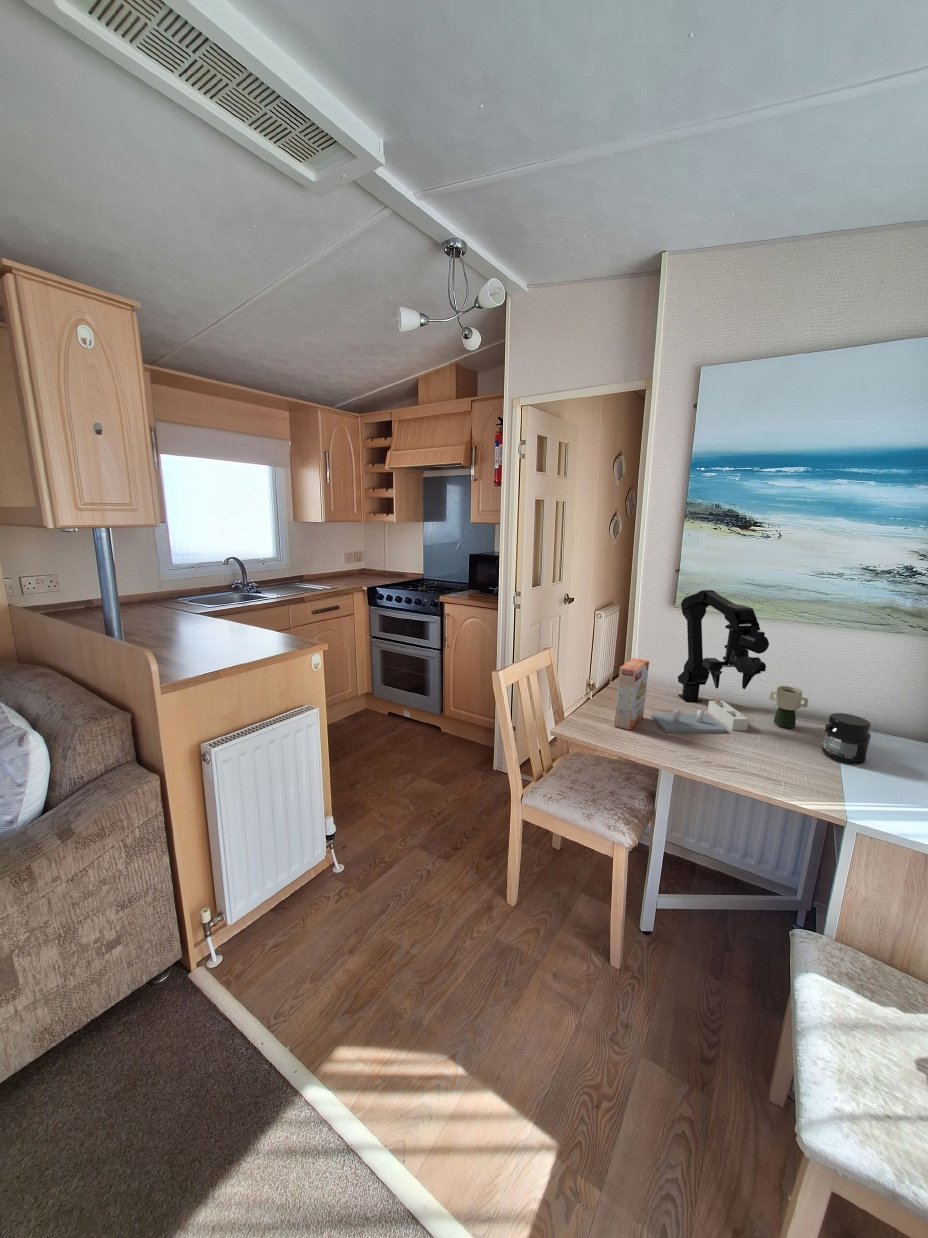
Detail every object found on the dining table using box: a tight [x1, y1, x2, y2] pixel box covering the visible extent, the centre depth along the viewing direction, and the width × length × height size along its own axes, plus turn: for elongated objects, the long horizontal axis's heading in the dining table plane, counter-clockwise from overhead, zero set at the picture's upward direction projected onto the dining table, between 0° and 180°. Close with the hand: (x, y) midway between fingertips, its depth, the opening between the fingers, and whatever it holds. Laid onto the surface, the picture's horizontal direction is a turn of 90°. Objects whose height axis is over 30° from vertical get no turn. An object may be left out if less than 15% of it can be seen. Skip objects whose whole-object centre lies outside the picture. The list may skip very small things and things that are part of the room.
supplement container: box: [821, 712, 872, 765], centre depth 143 cm, size 10×10×12 cm
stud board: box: [650, 709, 727, 734], centre depth 165 cm, size 12×20×5 cm, turn 91°
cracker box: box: [613, 658, 650, 731], centre depth 165 cm, size 14×6×21 cm, turn 143°
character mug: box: [769, 685, 809, 728], centre depth 165 cm, size 11×7×13 cm, turn 45°
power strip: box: [707, 699, 749, 731], centre depth 169 cm, size 5×16×4 cm, turn 1°
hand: (730, 688), depth 167 cm, fingers open, 9 cm apart
